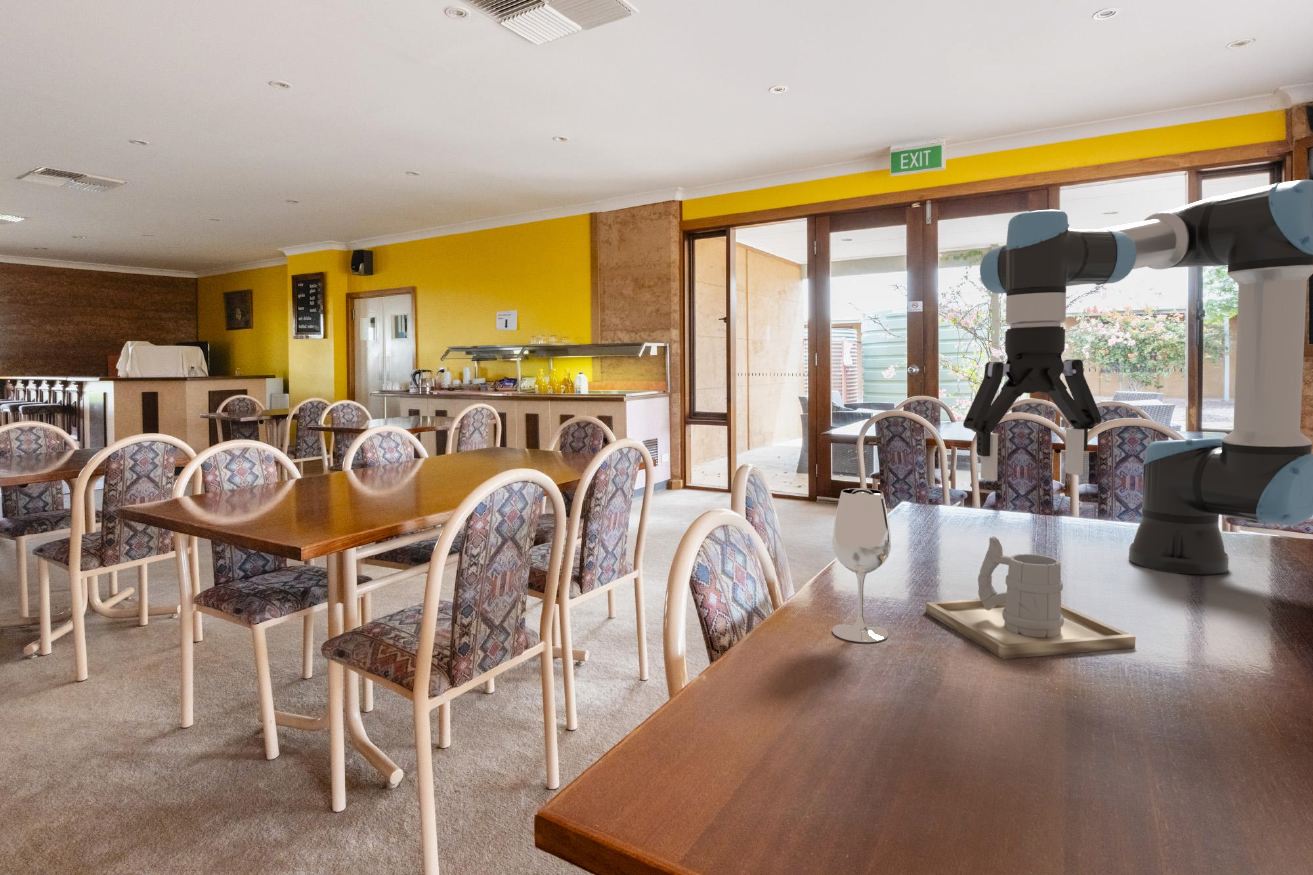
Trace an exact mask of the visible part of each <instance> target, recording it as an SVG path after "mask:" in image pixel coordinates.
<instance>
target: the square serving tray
mask: <svg viewBox="0 0 1313 875" xmlns="http://www.w3.org/2000/svg"><path fill="white" fill-rule="evenodd" d="M1005 607H1006V604H998V605H996V606H995V607H994V608H993V609H991V610H989V611H988V610H986V609H985V608H984V605H983V602H982V601H981V600H980V598H972V599H959V600H958V599H957V600H942V601H930V602H929V601H928V602H925V613H926V614H928V615H929V616H931V617H932V618H935V619H937V621H940V622H941V623H943V624H944V625H946V626H948V627H950V628H951V629H952V630H955V631H956V632H958V633H959V634H961V635H962V636H964V637H965V638H968V639H969V640H971V641H973V642H974V643H976V644H977V645H979V646H981V647H982V648H984V649H986V650H987V651H989V652H991V653H992V654H994V655H996V656H997V657H999V658H1000V659H1003V660H1008V659H1020V658H1031V657H1043V656H1056V655H1065V654H1066V655H1068V654H1079V653H1090V652H1101V651H1102V652H1103V651H1112V650H1113V651H1114V650H1125V649H1126V650H1127V649H1135V648H1136V640H1137V637H1136V636H1135V635H1133V634H1130V633H1129V632H1127V631H1123V630H1121V629H1120V628H1117V627H1115V626H1113V625H1110V624H1109V623H1105V622H1104V621H1101V620H1098V619H1096V618H1095V617H1092V616H1089V615H1087V614H1085V613H1082V612H1080V611H1078V610H1077V609H1074V608H1071V607H1069V606H1067V605H1065V604H1062V603H1061V614H1062V616H1063V618H1064V624H1063V626H1062V627H1061V633H1060V635H1058V636H1056V637H1051V638H1047V637H1044V638H1038V637H1028V636H1024V635H1022V634H1020V633H1019V634H1015V633H1013V632H1011V631H1009V630H1007V629H1006V627H1005V625H1004V623H1005V620H1004V619H1003V617H1002V612H1003V609H1004V608H1005Z"/></svg>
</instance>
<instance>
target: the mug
mask: <svg viewBox="0 0 1313 875" xmlns="http://www.w3.org/2000/svg"><path fill="white" fill-rule="evenodd" d="M988 542H989V546H988V549H987V551H986V553H985V557H984V559H983V562H982V564H981V567H980V569H979V570H980V571H979V574H978V576H977V581H978V582H977V583H978V590H977V591H978V592H977V593H978V596H979V598H978V599H980V600H981V601H982V602H983V605H984V608H985V609H986V610H988V611H989V610H991V609H993V608H994V607H995V606H996V605H998V604H1006V607H1005V608H1004V609H1003V612H1002V617H1003V619H1004V620H1005V623H1004V625H1005V627H1006V629H1007V630H1009V631H1011V632H1013V633H1015V634H1019V633H1020V634H1022V635H1024V636H1028V637H1038V638H1044V637H1047V638H1051V637H1056V636H1058V635H1060V633H1061V627H1062V626H1063V624H1064V618H1063V616H1062V614H1061V604H1062V602H1061V601H1062V600H1061V598H1062V591H1063V589H1064V587H1063V586H1064V585H1063V581H1062V578H1061V576H1062V574H1061V573H1062V572H1061V570H1062V569H1061V568H1062V566H1061V564H1062V563H1061V561H1060V560H1059V559H1057V558H1054V557H1052V556H1046V555H1043V554H1042V555H1041V554H1034V553H1023V554H1021V553H1017V554H1013V555H1010V556H1009V555H1004V554H1003V552H1004V551H1003V546H1002V543H1001V542H1000V540H999V539H998V538H997V537H996V536H995V535H994V536H990V537H989V541H988ZM1000 564H1001V565H1005V566H1006V565H1007V566H1008V569H1007V570H1008V571H1007V572H1008V573H1007V575H1006V576H1005V585H1006V591H1004V592H998V591H996V589H995V588H994V586H993V585H992V578H993V576H992V574H993V572H994V571H995V570H996V568H997V567H998V566H999V565H1000Z"/></svg>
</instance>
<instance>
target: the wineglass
mask: <svg viewBox="0 0 1313 875" xmlns="http://www.w3.org/2000/svg"><path fill="white" fill-rule="evenodd" d="M889 521H890V520H889V516H888V510H887V506H886V500H885V496H884V492H883V491H882V490H879V489H873V488H866V487H865V488H864V487H863V488H861V487H859V488H858V487H857V488H855V487H854V488H853V487H852V488H845V489H842V490H841V491H840V496H839V499H838V504H837V508H836V513H835V519H834V523H833V530H832V541H831V542H832V549H833V553H834V555H835V557H836V559H837V560H838V562H839V563H840V564H841V565H842V566H844V568H846V569H848V570H849V571H851V572H852V573H855V575H856V578H857V579H856V580H857V597H858V598H857V618H856V620H855V621H854V622H843V623H839V624H836V625H834V626H833V627H832V633H833V635H835V636H836V637H838V638H839V639H842V640H845V641H849V642H856V643H877V642H880V641H881V642H882V641H884V640H886V639H887V638H888V637H889V632H888V630H887V629H885V628H884V627H882V626H880V625H876V624H873V623H867V622H866V621H865V618H864V587H865V586H864V585H865V579H866V575H867V574H869V573H872V572H874V571H876V570H877V569H879V568H880V567H881V566H883V565H884V563H885V562H886V560H887V559H888V558H889V555H890V553H891V549H892V548H891V546H892V537H891V527H890V526H891V525H890V522H889Z"/></svg>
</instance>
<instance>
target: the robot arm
mask: <svg viewBox="0 0 1313 875" xmlns="http://www.w3.org/2000/svg"><path fill="white" fill-rule="evenodd" d="M1068 220H1069V218H1068V214H1067V213H1066V212H1065V211H1062V210H1059V209H1043V210H1041V209H1040V210H1032V211H1026V212H1022V213H1018V214H1017V215H1014V216H1013V217H1012V218H1011V219H1010V220H1009V222H1008V224H1007V233H1006V234H1007V236H1006V244H1005V245H1002V246H999V247H994V248H993V249H990V250H989V251H988V252H987V253H986V254H984V256H983V257H982V260H981V262H980V265H979V271H980V272H979V276H980V279H981V283H982V285H983V286H984V288H985V289H986V290H988V291H989V292H991V293H993V294H1005V295H1006V296H1005V324H1007V325H1009V326H1010V328H1006V331H1005V332H1004V334H1005V335H1004V336H1005V338H1004V339H1005V340H1004V343H1005V344H1004V351H1005V354H1006V362H1005V363H1004V362H1002V361H988V362H986V363H985V365H984V374H983V378H982V381H981V384H980V386H979V388H978V390H977V392H976V394H975V396H974V399H973V401H972V403H971V406H970V408H969V409H968V412H967V414H966V417H965V418H964V420H963V427H964V428H965V429H968V430H971V431H972V432H974V433H975V434H976V454H977V456H979V457H980V479H983V480H987V481H991V482H994V481H995V482H996V481H997V482H998V462H999V461H998V459H999V458H998V453H999V446H998V445H999V434H998V433H993V431H994V430H995V428H996V427H997V426H998V425H999V423H1000V422H1001V421H1002V420H1003V418H1004V416H1005V415H1006V414H1007V413H1008V411H1009V410H1010V409H1011V407H1012V406H1013V405H1014V403H1016V401H1017V399H1018V398H1019V397H1021V396H1022V395H1023V394H1034V393H1043V394H1044V393H1045V394H1046V395H1048V396H1049V397H1050V399H1051V400H1052V401H1053V403H1054V404H1055V406H1056V407H1057V409H1059V411H1060V412H1061V413H1062V415H1063V416H1064V418H1065V419H1066V420H1067V422H1068V423H1069V424H1070V426H1071V427H1066V428H1065V451H1064V452H1065V453H1064V454H1065V456H1064V457H1065V458H1064V460H1065V461H1064V473H1065V474H1069V475H1070V474H1071V475H1075V476H1083V475H1084V457H1085V455H1084V452H1085V451H1087V449H1088V444H1089V443H1088V440H1089V439H1088V436H1089V435H1088V434H1089V430H1093V429H1094V428H1095V425H1096V424H1101V422H1102V420H1103V418H1102V415H1101V413H1100V411H1099V409H1098V406H1097V404H1096V401H1095V398H1094V396H1093V394H1092V392H1091V389H1090V387H1089V385H1088V381H1087V379H1086V377H1085V374H1084V362H1083V361H1082V359H1080V358H1079V359H1076V358H1075V359H1064V360H1062V359H1063V358H1062V354H1063V353H1064V352H1065V350H1066V347H1065V346H1066V328H1064V326H1061V325H1062V323H1064V322H1066V321H1067V319H1066V318H1067V316H1066V313H1067V287H1071V286H1080V285H1092V284H1093V285H1096V286H1100V285H1106V284H1115V283H1118V282H1120V281H1122V280H1123V279H1125V278H1126V277H1127V276H1128V275H1129V274H1130V273H1131V272H1132V270H1137V269H1141V268H1145V267H1147V268H1148V269H1149V268H1150V269H1153V270H1166V269H1171V268H1186V267H1187V268H1189V267H1190V268H1192V267H1193V268H1195V267H1219V266H1227V276H1229V277H1230V278H1231V279H1232V280H1234V281H1235V282H1236V283H1237V285H1238V290H1237V292H1238V293H1237V295H1238V296H1237V297H1238V298H1237V320H1236V321H1237V322H1236V324H1237V325H1236V346H1235V347H1236V348H1235V349H1236V350H1235V351H1236V353H1235V373H1234V374H1235V375H1234V376H1235V378H1234V380H1235V381H1234V407H1233V429H1232V431H1231V432H1229V433H1228V434H1227V435H1225V436H1224V437H1222V438H1220V437H1210V438H1209V437H1208V438H1191V439H1190V438H1188V439H1186V438H1185V439H1173V440H1172V439H1171V440H1169V439H1168V440H1157V441H1156V440H1155V441H1151V442H1150V443H1148V444H1147V446H1146V447H1145V453H1144V460H1143V463H1142V466H1143V476H1142V477H1143V478H1142V480H1143V483H1142V503H1141V505H1142V506H1141V509H1142V510H1141V519H1140V523H1139V525H1138V528H1137V530H1136V533H1135V535H1134V539H1133V542H1132V543H1131V544H1130V546H1129V548H1128V549H1129V550H1128V560H1129V561H1130V562H1131V563H1133V564H1135V565H1137V566H1138V565H1139V566H1141V567H1145V568H1148V569H1153V570H1157V571H1162V572H1169V573H1175V574H1176V573H1178V574H1185V575H1219V574H1224V573H1226V572H1228V571H1229V564H1230V563H1229V562H1230V561H1229V555H1228V553H1227V552H1225V546H1224V541H1223V537H1222V534H1221V531H1220V527H1219V522H1220V521H1219V520H1220V519H1219V518H1220V516H1226V517H1231V518H1232V517H1233V518H1237V519H1244V520H1249V521H1255V522H1259V523H1262V524H1264V525H1271V524H1272V525H1280V526H1282V525H1283V526H1295V525H1296V526H1297V525H1299V524H1302V523H1304V522H1307V520H1309V519H1311V518H1312V517H1313V453H1312V450H1313V441H1312V440H1311V439H1310V438H1308V436H1306V435H1305V434H1303V433H1302V431H1301V420H1302V402H1303V401H1302V396H1303V394H1302V393H1303V378H1304V376H1303V375H1304V357H1305V356H1304V355H1305V354H1304V353H1305V352H1304V351H1305V332H1306V331H1305V329H1306V313H1307V312H1306V310H1307V308H1306V307H1307V286H1308V284H1307V283H1308V279H1309V278H1310V277H1311V276H1312V275H1313V179H1301V180H1292V181H1284V182H1283V181H1281V182H1275V183H1273V184H1269V185H1265V186H1264V185H1263V186H1259V187H1255V188H1250V189H1245V190H1241V191H1236V192H1232V193H1226V194H1221V195H1216V196H1211V197H1208V198H1206V199H1205V198H1204V199H1202V200H1198V201H1195V202H1192V203H1188V204H1186V205H1183V206H1180V207H1177V208H1174V209H1170V210H1166V211H1161V212H1157V213H1152V214H1151V215H1149V216H1147V217H1146V218H1145V219H1144V220H1143V221H1139V222H1133V223H1126V224H1122V225H1116V226H1111V227H1110V226H1109V227H1103V228H1100V229H1083V228H1082V229H1079V228H1078V229H1077V228H1075V229H1074V228H1069V226H1070V224H1069V221H1068ZM1062 374H1063V376H1064V379H1065V382H1066V384H1065V382H1064V381H1063V380H1062V379H1061V375H1062ZM1005 376H1006V377H1007V378H1008V379H1007V380H1006V381H1005V382H1004V384H1003V386H1001V383H1002V380H1003V378H1004V377H1005ZM1066 385H1067V386H1066ZM1000 386H1001V388H1000ZM1067 387H1068V388H1067ZM999 388H1000V392H999V394H998V395H997V396H996V394H997V393H998V390H999ZM1067 389H1068V390H1069V392H1068V390H1067ZM995 397H996V398H995Z"/></svg>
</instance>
